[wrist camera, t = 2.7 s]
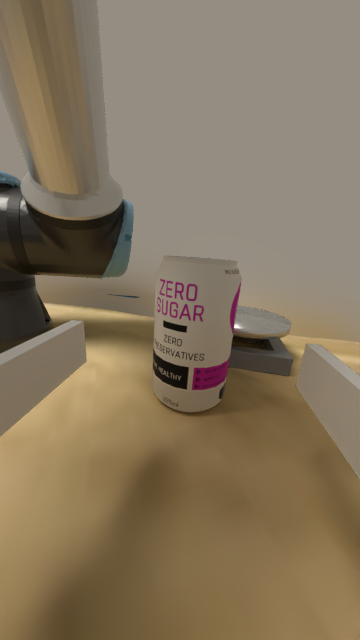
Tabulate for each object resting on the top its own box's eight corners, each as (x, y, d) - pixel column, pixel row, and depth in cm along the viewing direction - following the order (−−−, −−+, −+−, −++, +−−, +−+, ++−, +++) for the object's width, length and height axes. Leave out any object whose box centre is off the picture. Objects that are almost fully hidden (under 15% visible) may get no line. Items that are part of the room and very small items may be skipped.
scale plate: (194, 348, 31) (196, 322, 30) (203, 320, 44) (205, 302, 43) (297, 363, 29) (304, 336, 28) (275, 329, 42) (279, 310, 41)
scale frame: (196, 361, 32) (198, 345, 32) (204, 332, 45) (206, 320, 44) (289, 376, 30) (293, 359, 29) (270, 341, 42) (273, 328, 42)
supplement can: (218, 375, 29) (234, 260, 25) (228, 421, 21) (254, 263, 17) (158, 370, 29) (163, 254, 25) (145, 413, 21) (149, 255, 17)
